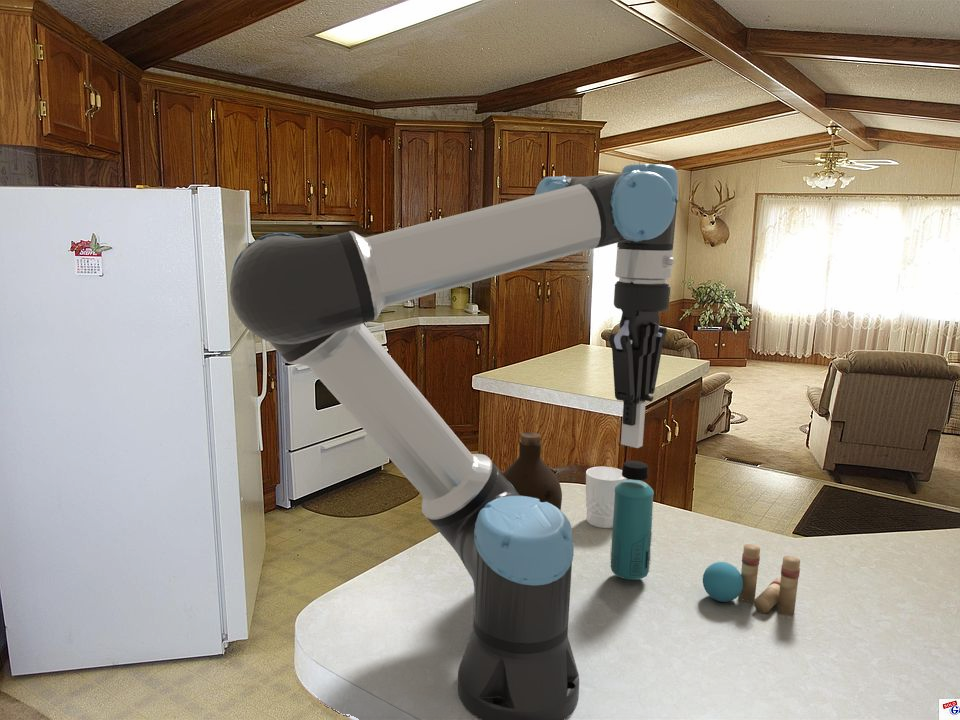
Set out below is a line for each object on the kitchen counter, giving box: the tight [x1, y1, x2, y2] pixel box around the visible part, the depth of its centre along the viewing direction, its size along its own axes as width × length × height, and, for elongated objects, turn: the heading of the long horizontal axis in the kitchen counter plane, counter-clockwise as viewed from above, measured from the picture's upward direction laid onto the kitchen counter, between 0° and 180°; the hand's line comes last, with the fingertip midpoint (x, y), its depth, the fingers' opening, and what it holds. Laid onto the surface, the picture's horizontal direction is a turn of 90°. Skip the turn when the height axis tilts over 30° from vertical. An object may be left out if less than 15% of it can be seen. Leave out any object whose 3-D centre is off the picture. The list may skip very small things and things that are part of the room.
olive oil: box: [501, 431, 563, 511], centre depth 117 cm, size 11×11×25 cm
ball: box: [702, 561, 743, 603], centre depth 115 cm, size 6×6×6 cm
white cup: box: [585, 466, 628, 529], centre depth 143 cm, size 8×8×10 cm
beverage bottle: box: [609, 460, 655, 580], centre depth 119 cm, size 6×7×20 cm
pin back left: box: [738, 543, 761, 602], centre depth 115 cm, size 3×3×8 cm
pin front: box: [753, 577, 781, 614], centre depth 115 cm, size 3×3×8 cm
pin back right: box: [777, 555, 801, 616], centre depth 112 cm, size 3×2×8 cm
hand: (631, 444), depth 106 cm, fingers closed
